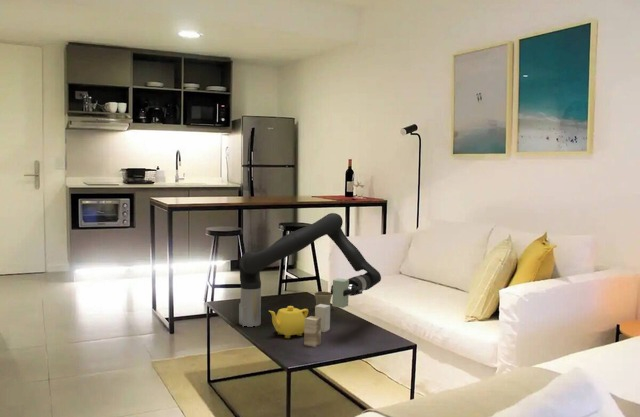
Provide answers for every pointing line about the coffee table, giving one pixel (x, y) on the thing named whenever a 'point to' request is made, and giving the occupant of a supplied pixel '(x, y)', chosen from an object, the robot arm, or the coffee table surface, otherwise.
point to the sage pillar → (340, 293)
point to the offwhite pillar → (323, 316)
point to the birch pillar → (312, 331)
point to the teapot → (289, 321)
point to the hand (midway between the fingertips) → (338, 292)
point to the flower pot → (323, 298)
